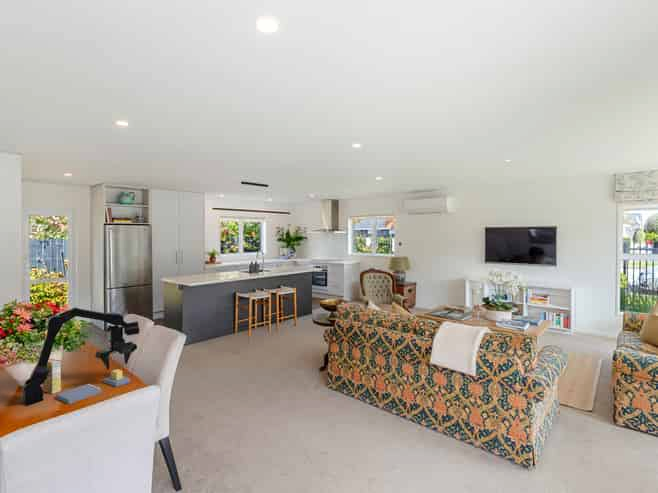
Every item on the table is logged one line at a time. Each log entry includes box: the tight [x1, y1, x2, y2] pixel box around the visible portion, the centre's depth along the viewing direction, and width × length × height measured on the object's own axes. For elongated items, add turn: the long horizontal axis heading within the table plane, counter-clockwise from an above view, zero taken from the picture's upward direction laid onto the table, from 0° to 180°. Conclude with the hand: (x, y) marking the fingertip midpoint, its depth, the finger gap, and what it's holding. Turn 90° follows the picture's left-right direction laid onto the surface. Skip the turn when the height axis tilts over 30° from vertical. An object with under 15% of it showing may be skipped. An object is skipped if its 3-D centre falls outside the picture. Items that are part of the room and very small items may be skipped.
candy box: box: [41, 358, 62, 395], centre depth 173 cm, size 9×4×15 cm, turn 66°
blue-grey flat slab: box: [55, 383, 102, 405], centre depth 168 cm, size 14×12×2 cm
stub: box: [103, 368, 131, 388], centre depth 183 cm, size 7×12×6 cm, turn 60°
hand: (117, 366), depth 183 cm, fingers open, 9 cm apart
